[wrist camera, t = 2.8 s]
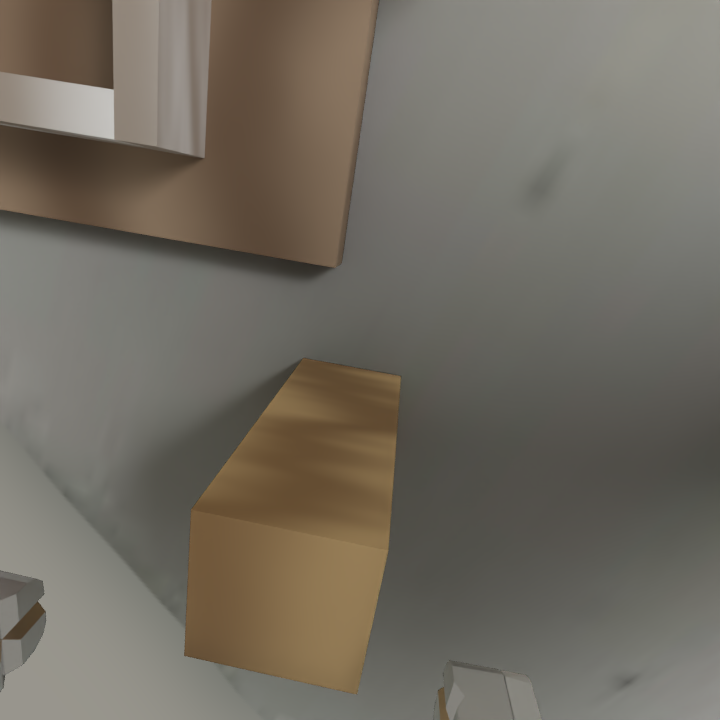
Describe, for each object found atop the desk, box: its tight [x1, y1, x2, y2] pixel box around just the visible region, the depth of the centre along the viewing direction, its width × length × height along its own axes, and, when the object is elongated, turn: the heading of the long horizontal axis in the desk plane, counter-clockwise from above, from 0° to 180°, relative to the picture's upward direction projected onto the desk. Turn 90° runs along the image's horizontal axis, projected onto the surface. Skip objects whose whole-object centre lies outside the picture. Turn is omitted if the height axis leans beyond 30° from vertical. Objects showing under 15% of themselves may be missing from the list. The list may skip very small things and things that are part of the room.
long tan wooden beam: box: [184, 358, 401, 694], centre depth 14 cm, size 4×4×10 cm
